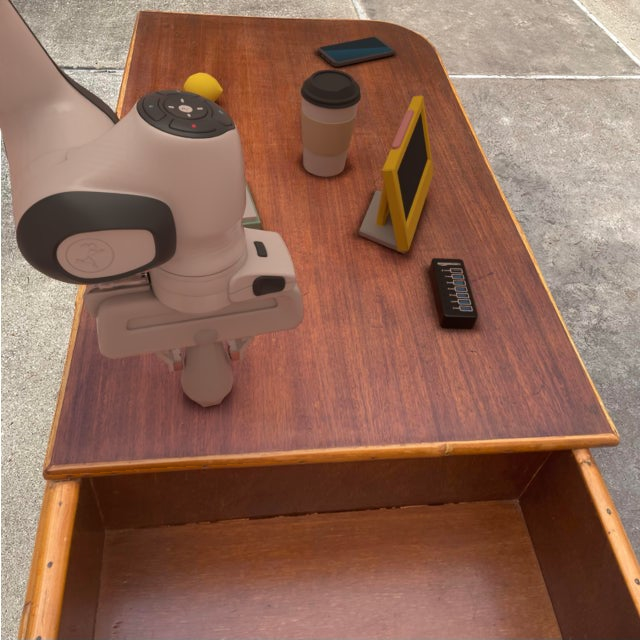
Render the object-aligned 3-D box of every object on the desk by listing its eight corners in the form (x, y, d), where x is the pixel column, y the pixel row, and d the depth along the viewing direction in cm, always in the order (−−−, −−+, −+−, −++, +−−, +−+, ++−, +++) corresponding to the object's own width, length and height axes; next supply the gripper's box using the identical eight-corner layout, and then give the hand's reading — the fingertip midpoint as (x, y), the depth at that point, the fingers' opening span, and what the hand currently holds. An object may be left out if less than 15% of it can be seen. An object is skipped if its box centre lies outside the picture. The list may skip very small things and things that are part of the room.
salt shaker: (191, 368, 75) (182, 289, 65) (239, 375, 75) (237, 298, 65) (176, 409, 71) (164, 332, 62) (227, 417, 71) (223, 341, 61)
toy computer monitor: (404, 269, 89) (426, 175, 78) (349, 255, 91) (364, 160, 79) (429, 190, 103) (452, 99, 91) (382, 178, 104) (398, 87, 92)
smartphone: (315, 51, 132) (315, 47, 131) (375, 39, 138) (376, 35, 137) (334, 68, 128) (335, 63, 127) (395, 55, 134) (396, 50, 133)
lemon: (180, 108, 113) (178, 79, 109) (188, 93, 117) (186, 64, 113) (220, 113, 113) (218, 84, 109) (226, 98, 117) (225, 69, 113)
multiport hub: (440, 328, 83) (444, 316, 81) (428, 269, 90) (431, 257, 88) (474, 329, 83) (478, 317, 81) (459, 270, 90) (463, 258, 89)
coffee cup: (284, 162, 105) (288, 75, 94) (322, 142, 110) (330, 57, 98) (325, 187, 101) (334, 99, 90) (362, 166, 106) (375, 79, 95)
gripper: (80, 308, 54) (107, 403, 64) (313, 274, 59) (303, 367, 69) (77, 259, 58) (103, 355, 68) (295, 231, 63) (289, 324, 73)
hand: (206, 361), depth 69 cm, fingers open, 5 cm apart
